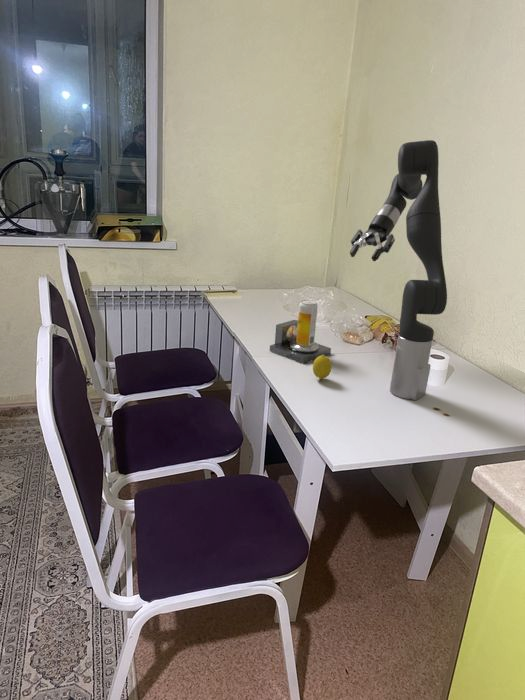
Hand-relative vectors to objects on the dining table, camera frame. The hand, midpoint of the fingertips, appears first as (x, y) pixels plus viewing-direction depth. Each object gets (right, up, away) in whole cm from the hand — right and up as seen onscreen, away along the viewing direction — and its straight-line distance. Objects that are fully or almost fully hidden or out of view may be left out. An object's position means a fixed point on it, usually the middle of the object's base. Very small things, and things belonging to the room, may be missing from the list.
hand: (362, 257), depth 166 cm
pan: (-19, -30, +3) cm, 36 cm away
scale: (-20, -32, +5) cm, 38 cm away
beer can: (-19, -29, +3) cm, 35 cm away
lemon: (-16, -40, -16) cm, 46 cm away
